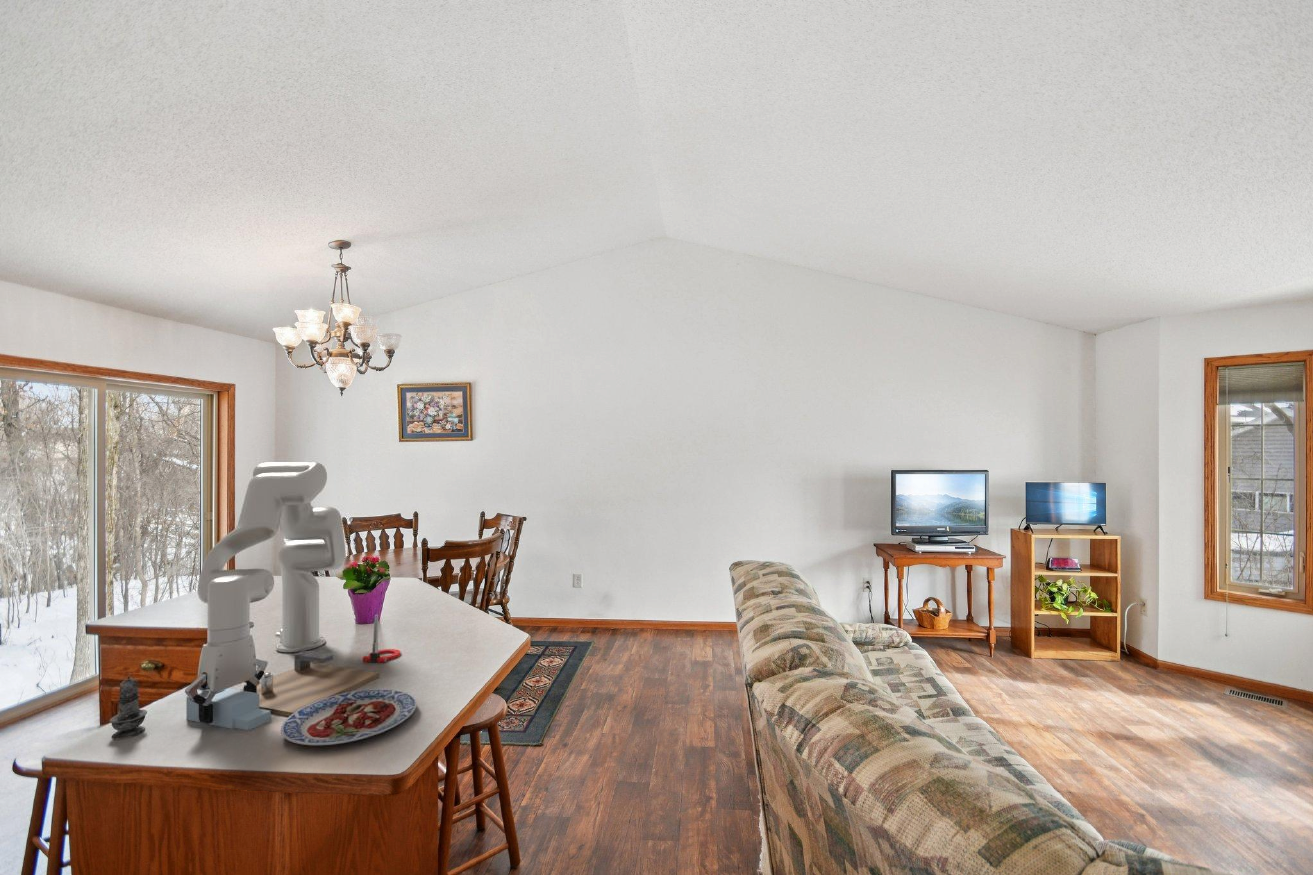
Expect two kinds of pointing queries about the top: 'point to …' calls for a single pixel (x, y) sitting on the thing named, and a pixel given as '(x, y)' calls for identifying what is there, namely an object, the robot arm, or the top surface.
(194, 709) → the link
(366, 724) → the ceramic plate
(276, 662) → the top surface
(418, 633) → the top surface
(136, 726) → the grey stone sculpture
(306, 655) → the bracket
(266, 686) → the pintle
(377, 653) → the tow hook
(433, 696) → the top surface
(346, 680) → the board
